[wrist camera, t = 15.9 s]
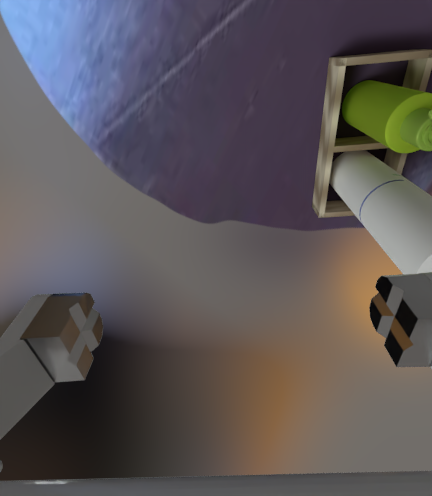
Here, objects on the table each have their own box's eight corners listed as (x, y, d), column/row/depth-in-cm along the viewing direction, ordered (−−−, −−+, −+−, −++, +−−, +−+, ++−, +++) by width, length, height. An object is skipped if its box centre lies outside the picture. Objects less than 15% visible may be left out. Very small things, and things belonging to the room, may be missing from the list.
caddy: (329, 57, 38) (340, 58, 35) (417, 49, 37) (437, 49, 34) (312, 206, 50) (318, 217, 47) (378, 201, 49) (390, 212, 46)
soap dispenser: (370, 62, 38) (485, 75, 22) (392, 105, 41) (509, 145, 25) (330, 96, 40) (407, 131, 24) (353, 135, 43) (437, 189, 27)
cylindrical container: (329, 152, 45) (425, 242, 24) (378, 145, 44) (518, 231, 24) (326, 195, 49) (406, 303, 28) (371, 189, 48) (485, 296, 28)
